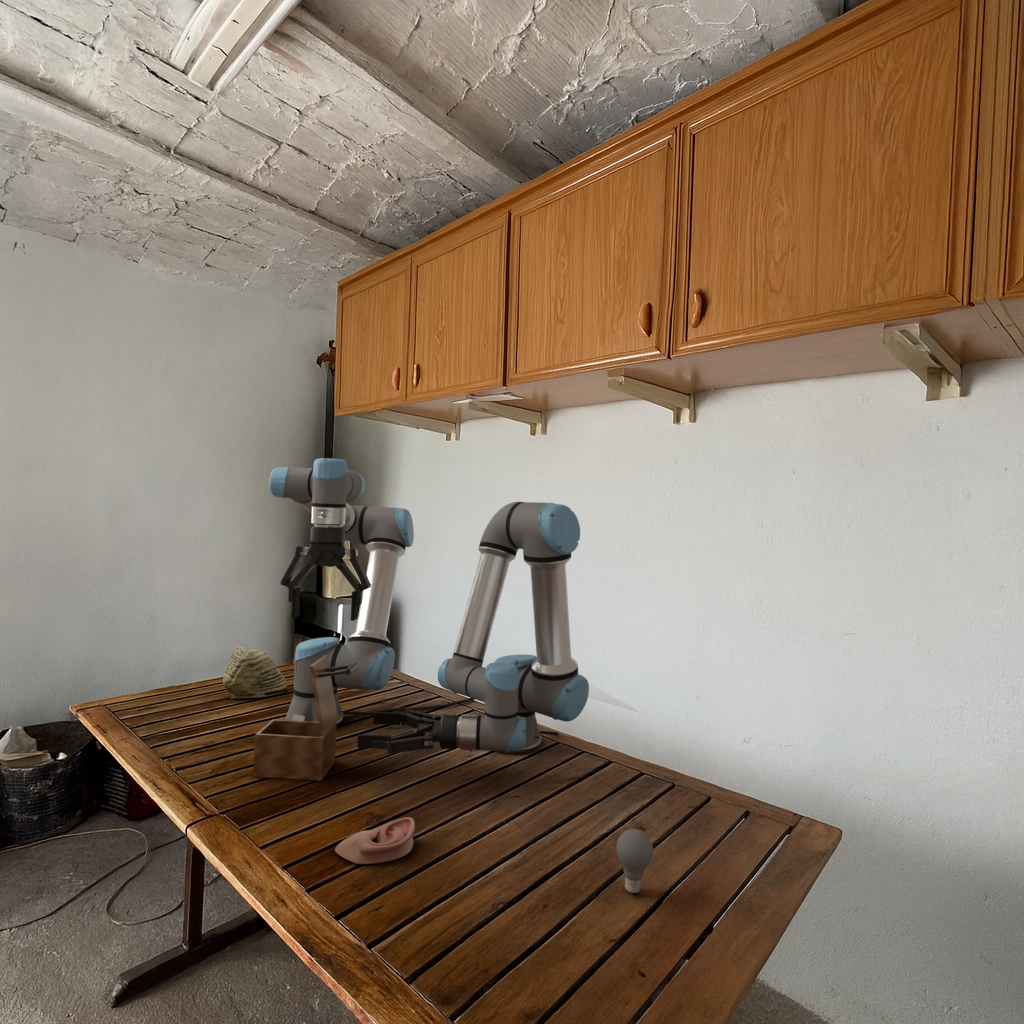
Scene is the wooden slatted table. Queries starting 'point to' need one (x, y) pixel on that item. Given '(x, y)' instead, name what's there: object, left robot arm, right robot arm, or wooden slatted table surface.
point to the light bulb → (634, 857)
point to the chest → (293, 750)
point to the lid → (326, 691)
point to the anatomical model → (379, 843)
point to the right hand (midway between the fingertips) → (365, 728)
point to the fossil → (252, 674)
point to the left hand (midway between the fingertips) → (324, 618)
